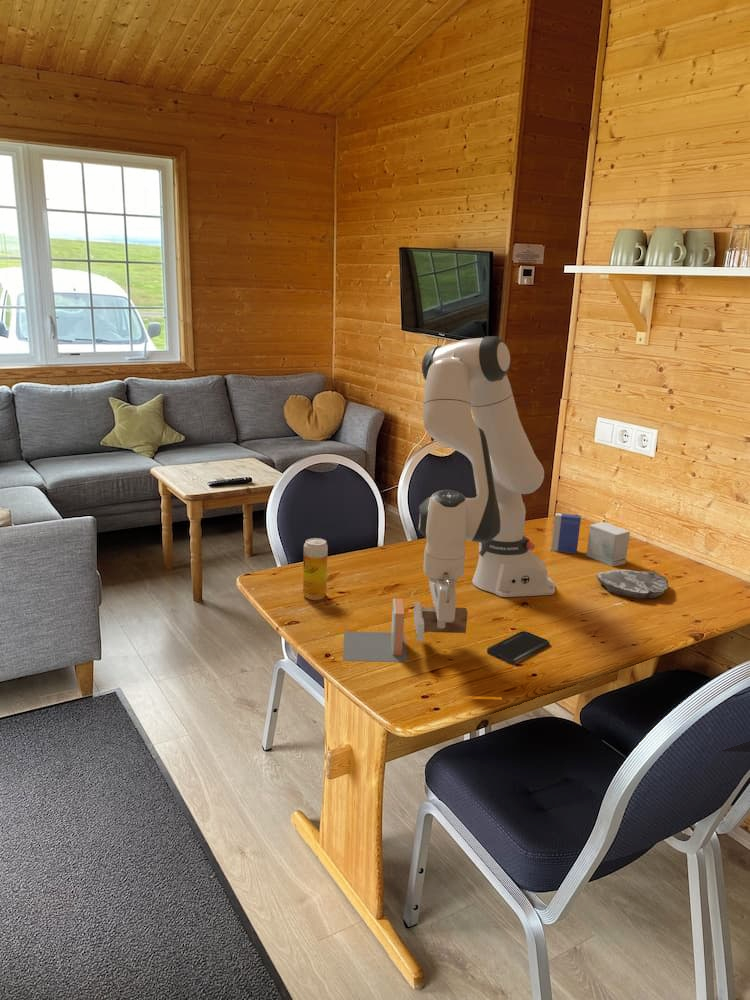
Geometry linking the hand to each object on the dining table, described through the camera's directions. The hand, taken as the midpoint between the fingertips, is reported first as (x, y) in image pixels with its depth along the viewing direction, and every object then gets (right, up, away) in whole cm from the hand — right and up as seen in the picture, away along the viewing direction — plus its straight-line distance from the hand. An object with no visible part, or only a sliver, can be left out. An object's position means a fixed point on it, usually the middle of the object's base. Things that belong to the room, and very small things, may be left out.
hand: (439, 623), depth 170 cm
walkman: (+45, +11, +70) cm, 84 cm away
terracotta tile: (-9, -6, +1) cm, 11 cm away
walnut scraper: (0, -2, +1) cm, 2 cm away
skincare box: (+56, +9, +63) cm, 85 cm away
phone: (+18, -7, +5) cm, 20 cm away
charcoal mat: (-15, -6, +1) cm, 16 cm away
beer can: (-30, +2, +28) cm, 41 cm away
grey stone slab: (+58, +2, +41) cm, 71 cm away
